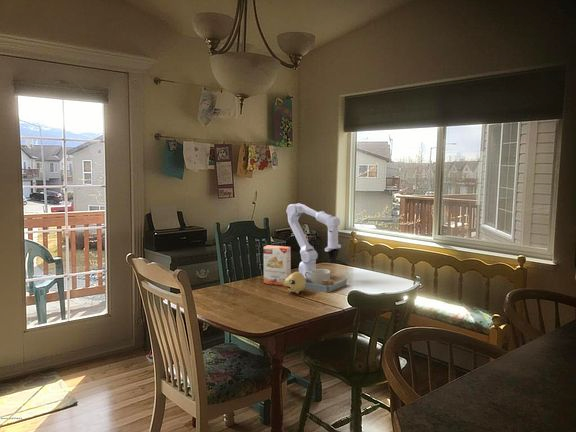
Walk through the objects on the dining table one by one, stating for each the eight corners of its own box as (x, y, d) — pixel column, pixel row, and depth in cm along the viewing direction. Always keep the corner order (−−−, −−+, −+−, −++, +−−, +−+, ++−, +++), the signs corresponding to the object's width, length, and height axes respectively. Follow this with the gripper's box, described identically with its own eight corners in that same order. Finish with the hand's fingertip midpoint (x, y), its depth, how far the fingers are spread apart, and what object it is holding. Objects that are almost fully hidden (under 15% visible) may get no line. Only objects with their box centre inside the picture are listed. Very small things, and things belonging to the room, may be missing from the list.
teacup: (332, 283, 252) (332, 269, 251) (327, 288, 242) (327, 273, 241) (308, 281, 257) (308, 267, 256) (302, 286, 247) (302, 271, 246)
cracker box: (263, 284, 252) (262, 246, 250) (267, 281, 257) (267, 244, 255) (286, 286, 246) (286, 248, 244) (291, 283, 252) (290, 246, 250)
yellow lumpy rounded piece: (279, 293, 233) (279, 272, 232) (295, 288, 242) (295, 268, 241) (293, 296, 226) (293, 275, 225) (309, 292, 235) (309, 271, 234)
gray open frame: (297, 287, 245) (297, 281, 245) (316, 280, 260) (316, 274, 260) (328, 292, 234) (328, 286, 234) (346, 284, 249) (346, 279, 249)
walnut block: (322, 289, 239) (322, 280, 239) (326, 288, 243) (326, 279, 242) (329, 291, 237) (329, 281, 237) (333, 289, 240) (333, 280, 240)
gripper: (332, 240, 248) (332, 265, 249) (345, 237, 260) (345, 261, 261) (321, 239, 252) (321, 264, 254) (334, 236, 264) (334, 259, 265)
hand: (333, 262), depth 258 cm, fingers closed
